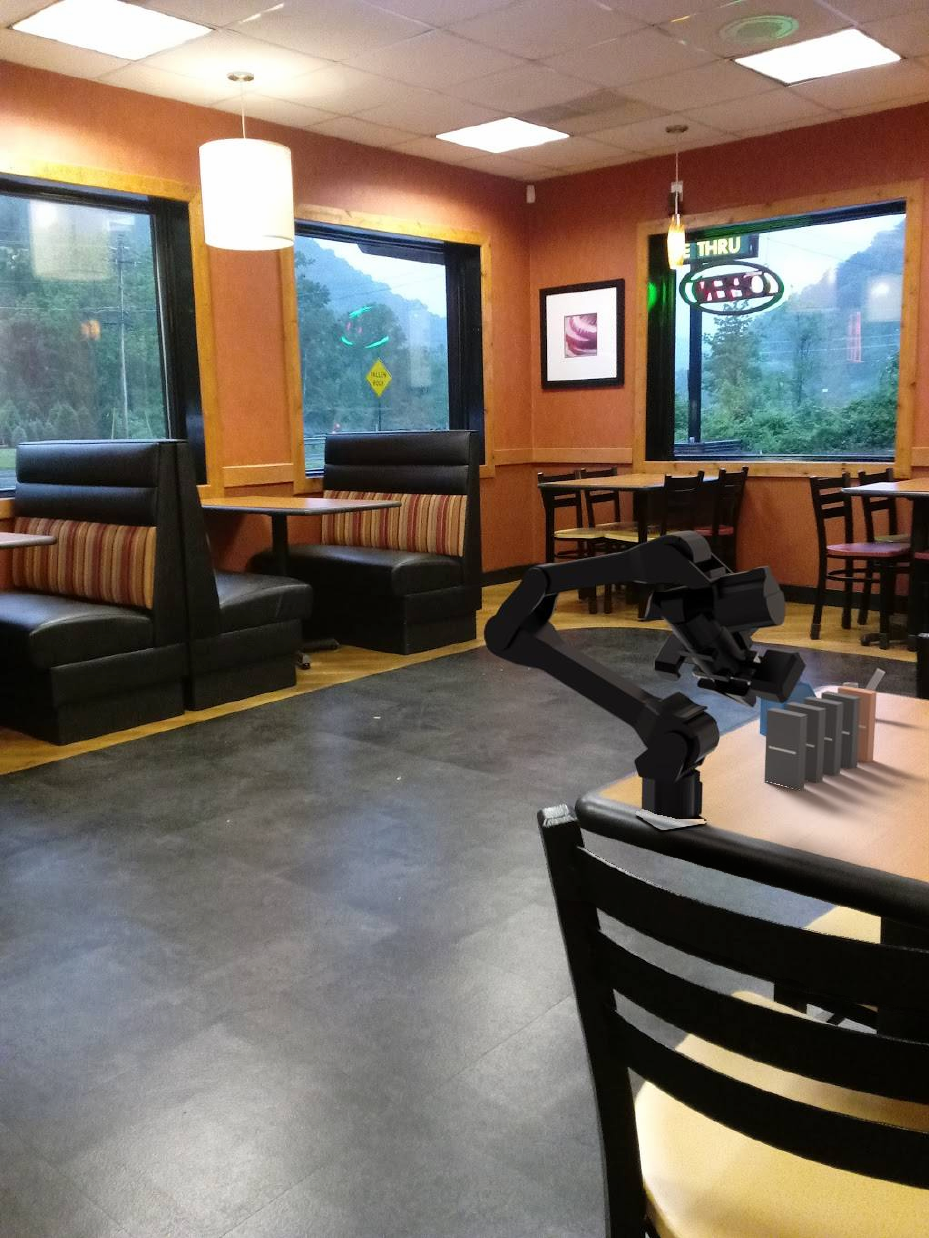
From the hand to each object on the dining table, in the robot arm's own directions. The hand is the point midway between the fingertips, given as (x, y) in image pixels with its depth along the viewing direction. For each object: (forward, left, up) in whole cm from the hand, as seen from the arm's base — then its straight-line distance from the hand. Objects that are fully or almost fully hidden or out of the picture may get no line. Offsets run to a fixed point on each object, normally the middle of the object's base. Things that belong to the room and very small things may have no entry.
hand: (752, 704), depth 134 cm
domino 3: (+16, +6, -12) cm, 21 cm away
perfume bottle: (+23, +21, -13) cm, 33 cm away
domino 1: (+8, +3, -12) cm, 15 cm away
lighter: (+42, +27, -13) cm, 51 cm away
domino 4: (+20, +7, -12) cm, 25 cm away
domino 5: (+24, +9, -12) cm, 29 cm away
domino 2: (+12, +4, -12) cm, 18 cm away
